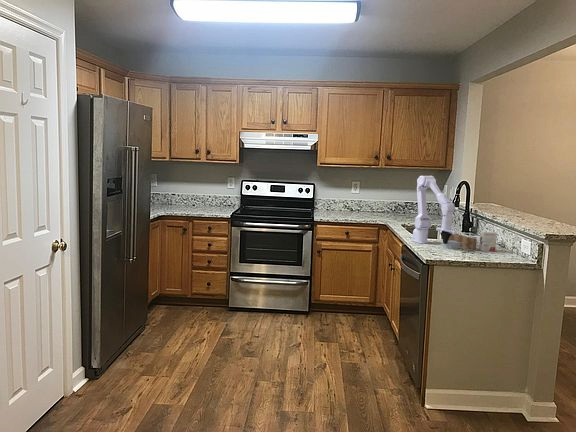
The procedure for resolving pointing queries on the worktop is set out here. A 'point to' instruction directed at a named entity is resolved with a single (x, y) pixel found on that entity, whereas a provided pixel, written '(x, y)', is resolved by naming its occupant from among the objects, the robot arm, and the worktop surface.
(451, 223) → the robot arm
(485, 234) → the ink box
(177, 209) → the worktop surface
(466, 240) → the walnut board
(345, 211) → the worktop surface
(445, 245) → the slate block
